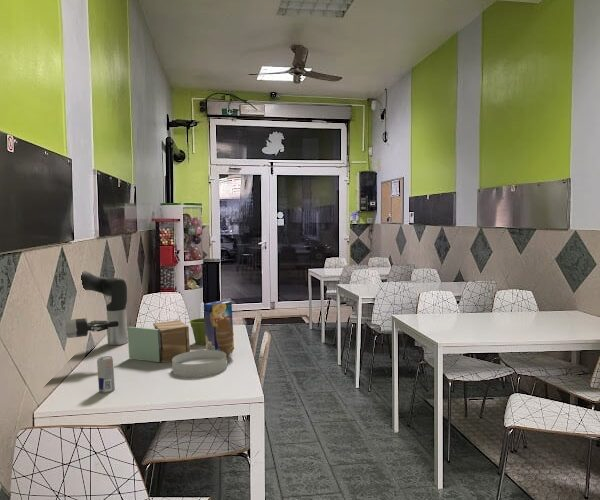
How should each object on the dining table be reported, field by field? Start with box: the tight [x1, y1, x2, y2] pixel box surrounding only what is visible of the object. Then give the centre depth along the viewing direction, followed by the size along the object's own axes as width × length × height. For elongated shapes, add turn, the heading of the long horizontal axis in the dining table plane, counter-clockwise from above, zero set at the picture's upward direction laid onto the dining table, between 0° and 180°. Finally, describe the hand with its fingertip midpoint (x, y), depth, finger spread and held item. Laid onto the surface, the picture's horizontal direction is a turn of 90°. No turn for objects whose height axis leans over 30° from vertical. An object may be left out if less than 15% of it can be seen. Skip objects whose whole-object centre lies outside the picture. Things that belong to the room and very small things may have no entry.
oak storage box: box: [152, 319, 191, 363], centre depth 229 cm, size 18×12×14 cm, turn 26°
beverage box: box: [203, 300, 235, 351], centre depth 235 cm, size 7×11×22 cm, turn 138°
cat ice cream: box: [216, 315, 234, 357], centre depth 224 cm, size 9×8×18 cm
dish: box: [171, 349, 228, 378], centre depth 208 cm, size 22×22×5 cm
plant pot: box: [188, 317, 206, 345], centre depth 252 cm, size 12×12×11 cm
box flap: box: [127, 326, 163, 363], centre depth 223 cm, size 19×1×14 cm, turn 61°
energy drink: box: [96, 355, 116, 394], centre depth 184 cm, size 5×5×12 cm
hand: (118, 323), depth 221 cm, fingers closed
